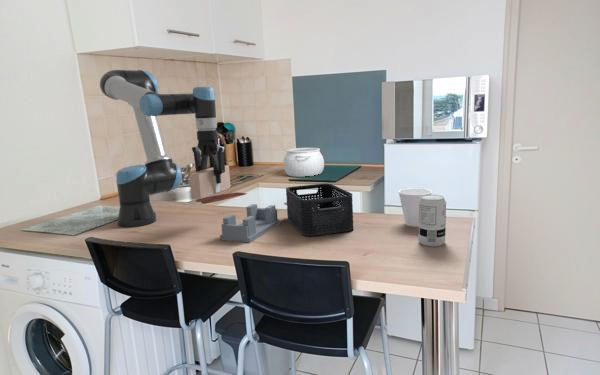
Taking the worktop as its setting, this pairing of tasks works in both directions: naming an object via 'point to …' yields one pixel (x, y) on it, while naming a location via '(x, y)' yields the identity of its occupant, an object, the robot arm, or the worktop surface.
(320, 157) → the pot
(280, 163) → the worktop surface
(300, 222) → the storage bin
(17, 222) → the worktop surface
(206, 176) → the tan rectangular block
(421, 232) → the supplement can
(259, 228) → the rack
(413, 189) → the cup
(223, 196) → the wooden tablet
